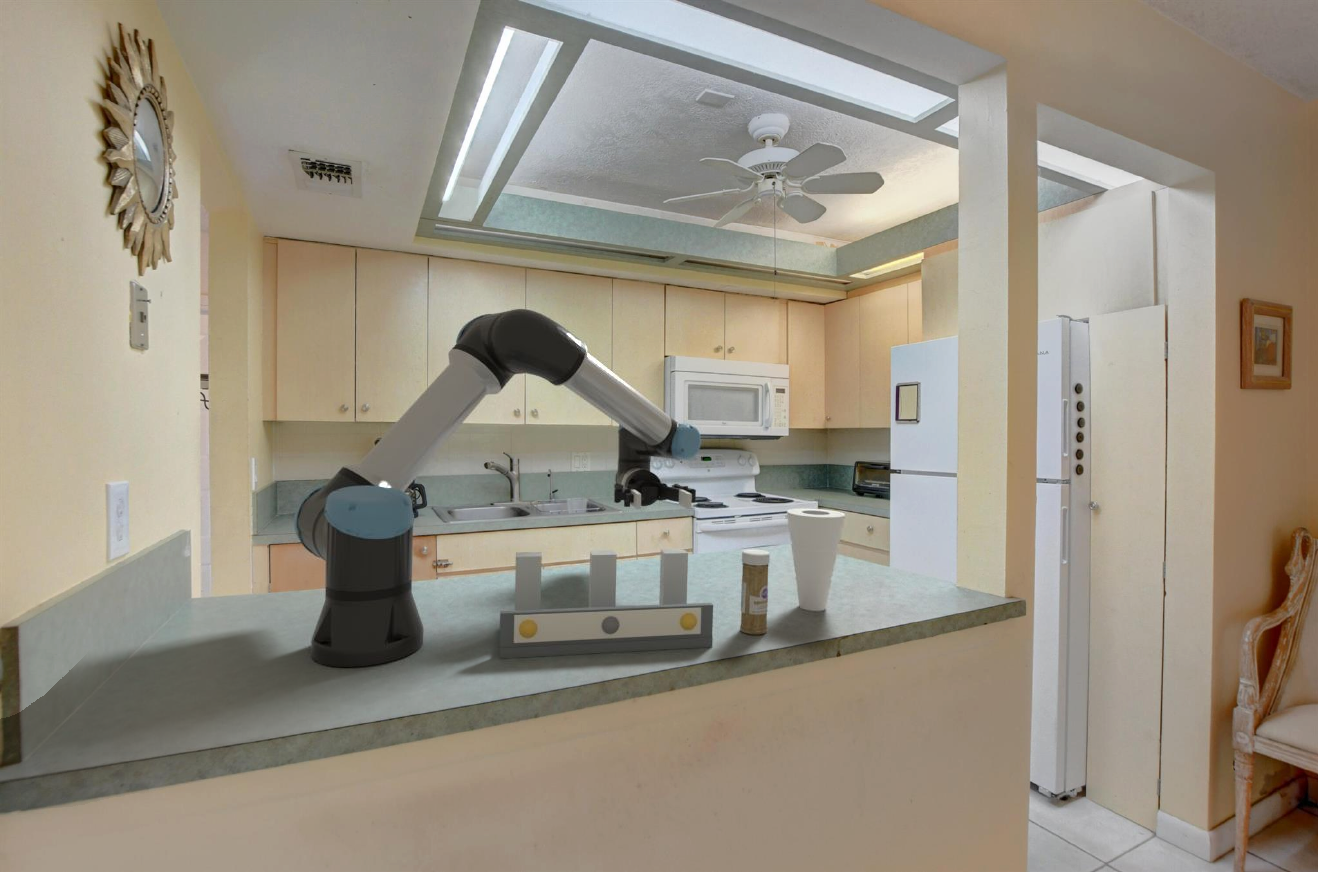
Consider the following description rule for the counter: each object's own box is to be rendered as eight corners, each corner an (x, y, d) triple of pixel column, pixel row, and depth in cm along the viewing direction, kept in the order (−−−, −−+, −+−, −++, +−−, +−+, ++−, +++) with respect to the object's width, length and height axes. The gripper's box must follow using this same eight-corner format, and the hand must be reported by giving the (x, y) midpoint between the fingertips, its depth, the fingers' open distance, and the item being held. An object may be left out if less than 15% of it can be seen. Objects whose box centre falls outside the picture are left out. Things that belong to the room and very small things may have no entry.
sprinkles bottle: (761, 637, 102) (764, 555, 102) (735, 632, 105) (737, 551, 104) (771, 629, 106) (773, 550, 106) (745, 624, 109) (748, 547, 108)
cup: (773, 601, 123) (776, 509, 122) (819, 596, 126) (822, 507, 126) (804, 618, 113) (807, 518, 112) (853, 613, 116) (857, 516, 116)
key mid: (590, 622, 102) (592, 555, 102) (588, 616, 105) (590, 551, 105) (615, 621, 103) (616, 554, 103) (612, 615, 106) (614, 550, 105)
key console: (499, 659, 91) (500, 614, 90) (502, 628, 104) (502, 588, 103) (712, 647, 97) (714, 605, 97) (690, 619, 110) (691, 582, 110)
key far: (662, 619, 105) (664, 553, 104) (659, 613, 108) (660, 549, 107) (686, 618, 105) (688, 552, 105) (681, 612, 108) (683, 549, 108)
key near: (514, 625, 100) (515, 556, 99) (514, 619, 102) (515, 552, 102) (540, 624, 100) (541, 556, 100) (539, 618, 103) (541, 552, 103)
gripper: (689, 503, 139) (720, 521, 116) (591, 504, 134) (605, 522, 112) (689, 469, 138) (721, 480, 116) (592, 468, 134) (605, 480, 112)
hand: (664, 501), depth 114 cm, fingers open, 9 cm apart
